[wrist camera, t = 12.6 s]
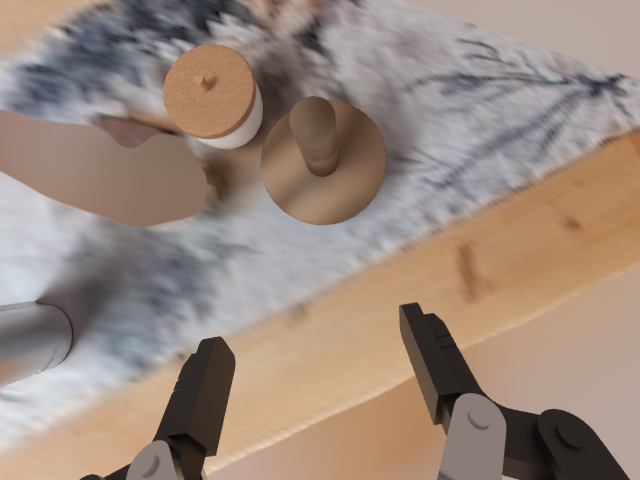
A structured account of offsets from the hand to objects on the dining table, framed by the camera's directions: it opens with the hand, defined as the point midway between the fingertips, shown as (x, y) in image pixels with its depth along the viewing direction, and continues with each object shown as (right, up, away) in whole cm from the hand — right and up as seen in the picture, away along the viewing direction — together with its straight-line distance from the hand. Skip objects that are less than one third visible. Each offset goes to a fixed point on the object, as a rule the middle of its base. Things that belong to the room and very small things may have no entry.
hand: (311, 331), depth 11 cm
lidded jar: (-11, +21, +25) cm, 34 cm away
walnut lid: (+1, +13, +18) cm, 22 cm away
